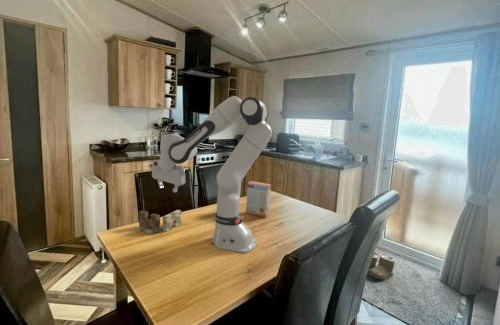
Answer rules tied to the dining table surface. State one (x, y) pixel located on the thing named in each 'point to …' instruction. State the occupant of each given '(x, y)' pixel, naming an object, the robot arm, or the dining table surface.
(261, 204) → the cracker box
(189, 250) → the dining table surface
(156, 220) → the walnut slotted plate
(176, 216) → the maple slotted plate
